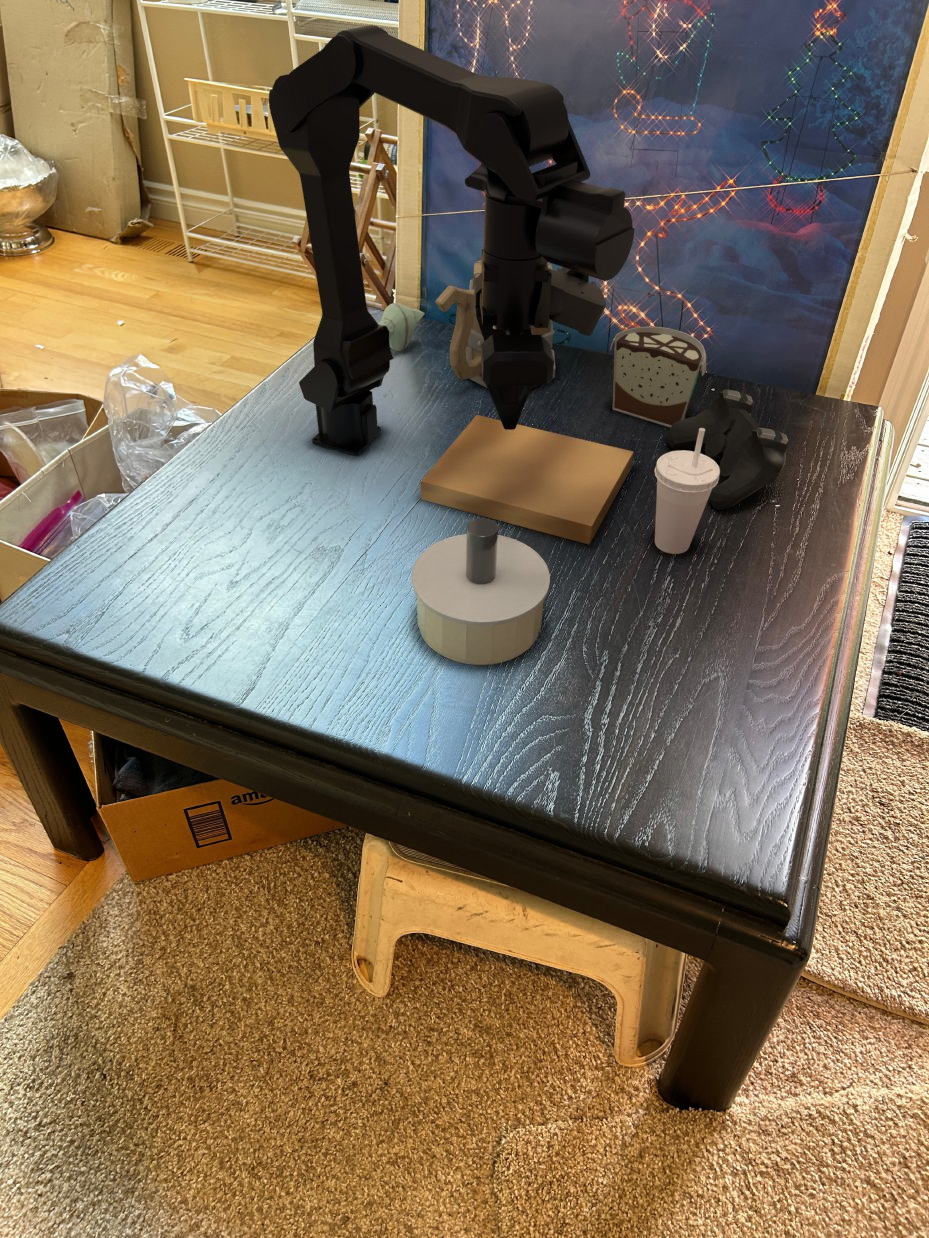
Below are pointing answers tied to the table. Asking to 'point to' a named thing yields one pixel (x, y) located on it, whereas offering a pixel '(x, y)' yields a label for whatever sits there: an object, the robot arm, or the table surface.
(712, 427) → the game controller
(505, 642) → the tin
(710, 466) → the smoothie
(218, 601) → the table surface
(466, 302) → the tankard
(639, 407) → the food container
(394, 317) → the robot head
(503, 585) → the lid
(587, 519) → the board
